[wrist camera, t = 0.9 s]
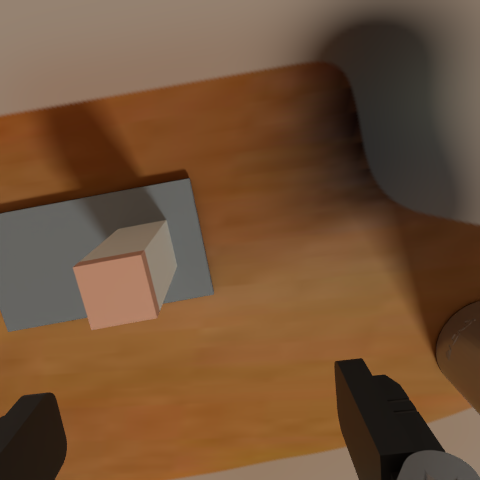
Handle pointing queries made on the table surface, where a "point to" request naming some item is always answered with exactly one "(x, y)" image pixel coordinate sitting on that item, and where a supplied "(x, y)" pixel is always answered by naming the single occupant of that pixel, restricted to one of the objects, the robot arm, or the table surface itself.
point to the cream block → (127, 275)
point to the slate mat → (90, 249)
